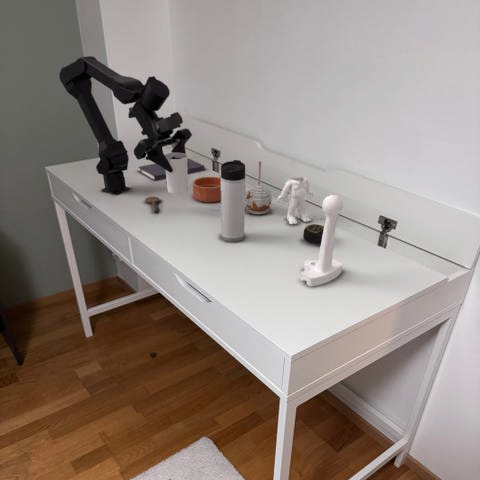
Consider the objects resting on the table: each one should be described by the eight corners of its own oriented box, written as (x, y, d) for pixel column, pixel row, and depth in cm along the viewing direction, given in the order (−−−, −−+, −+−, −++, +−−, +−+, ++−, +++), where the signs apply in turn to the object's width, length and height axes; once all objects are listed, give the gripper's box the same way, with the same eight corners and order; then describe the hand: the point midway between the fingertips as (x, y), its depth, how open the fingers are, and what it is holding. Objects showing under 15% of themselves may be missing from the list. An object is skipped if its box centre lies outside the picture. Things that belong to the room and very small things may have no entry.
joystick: (313, 288, 106) (324, 204, 94) (290, 275, 111) (297, 194, 99) (345, 273, 112) (358, 192, 100) (321, 261, 116) (331, 183, 105)
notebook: (154, 180, 164) (204, 169, 175) (154, 176, 163) (204, 165, 174) (137, 171, 172) (186, 161, 183) (137, 166, 171) (186, 157, 182)
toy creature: (284, 227, 133) (287, 186, 126) (273, 219, 138) (276, 179, 131) (319, 220, 138) (324, 180, 131) (308, 213, 142) (312, 174, 135)
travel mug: (247, 233, 129) (249, 161, 118) (239, 243, 124) (240, 168, 113) (226, 230, 131) (226, 158, 119) (217, 240, 126) (216, 165, 114)
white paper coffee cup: (162, 192, 136) (159, 157, 130) (172, 185, 141) (170, 151, 135) (182, 195, 134) (181, 160, 128) (192, 188, 139) (191, 154, 133)
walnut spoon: (163, 212, 141) (163, 208, 140) (148, 213, 140) (148, 210, 139) (158, 198, 150) (158, 195, 149) (145, 199, 149) (144, 196, 148)
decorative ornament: (248, 205, 147) (249, 156, 138) (272, 207, 145) (275, 158, 137) (243, 214, 140) (244, 164, 132) (268, 217, 139) (271, 166, 130)
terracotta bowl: (186, 199, 150) (185, 183, 147) (205, 189, 158) (205, 174, 155) (214, 206, 146) (214, 190, 143) (232, 195, 153) (232, 180, 150)
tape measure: (321, 249, 122) (323, 236, 120) (298, 242, 125) (299, 229, 123) (331, 239, 127) (333, 227, 125) (309, 233, 130) (310, 221, 128)
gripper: (136, 108, 120) (169, 160, 121) (186, 98, 132) (216, 145, 133) (119, 134, 128) (151, 183, 129) (168, 122, 140) (196, 167, 141)
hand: (179, 169), depth 133 cm, fingers closed on white paper coffee cup, 6 cm apart
